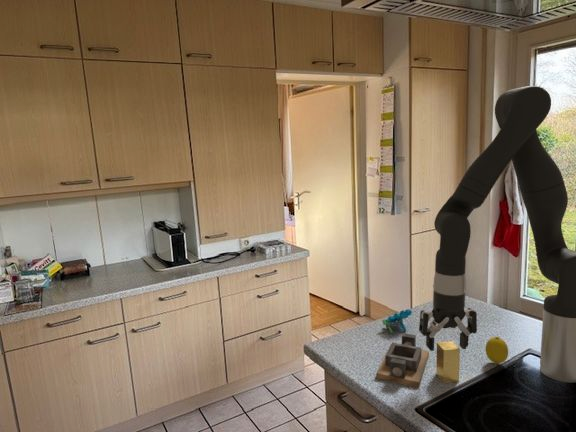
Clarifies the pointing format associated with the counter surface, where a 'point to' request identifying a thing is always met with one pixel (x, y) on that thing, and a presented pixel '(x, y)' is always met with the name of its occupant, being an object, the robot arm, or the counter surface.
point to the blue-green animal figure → (397, 319)
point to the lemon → (496, 350)
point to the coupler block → (448, 361)
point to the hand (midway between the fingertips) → (446, 348)
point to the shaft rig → (404, 362)
